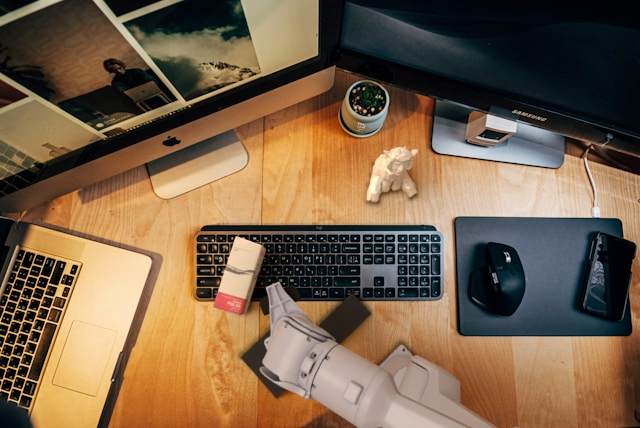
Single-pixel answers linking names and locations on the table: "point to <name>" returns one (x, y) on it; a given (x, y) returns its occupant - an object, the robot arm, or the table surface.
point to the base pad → (261, 364)
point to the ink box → (240, 276)
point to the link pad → (345, 318)
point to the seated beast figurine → (392, 173)
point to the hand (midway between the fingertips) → (292, 326)
